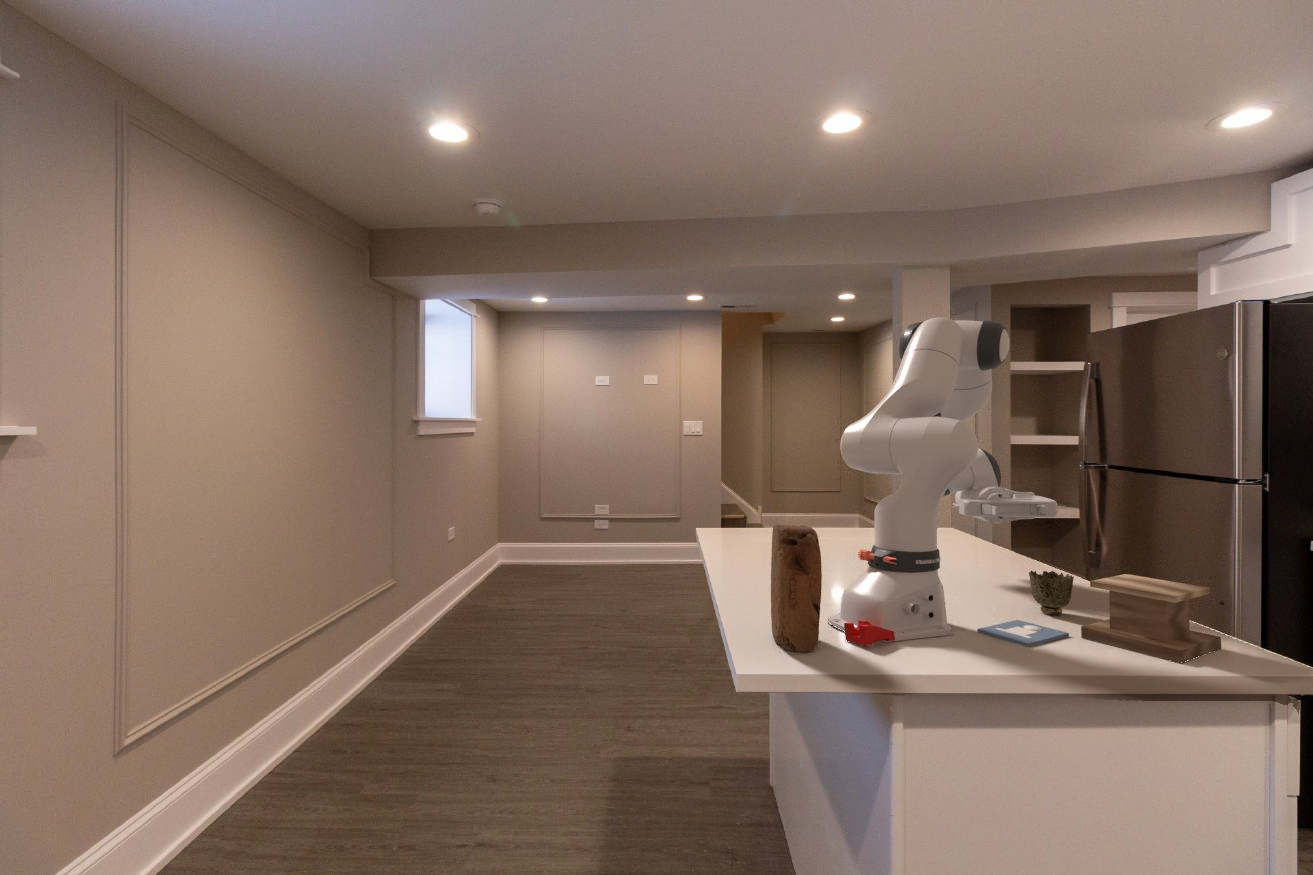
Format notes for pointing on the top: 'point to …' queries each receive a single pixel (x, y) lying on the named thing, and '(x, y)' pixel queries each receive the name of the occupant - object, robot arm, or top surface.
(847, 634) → the bracket
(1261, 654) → the top surface
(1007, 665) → the top surface
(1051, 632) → the board
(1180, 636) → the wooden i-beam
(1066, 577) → the cup
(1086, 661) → the top surface
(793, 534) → the brown speckled rock
